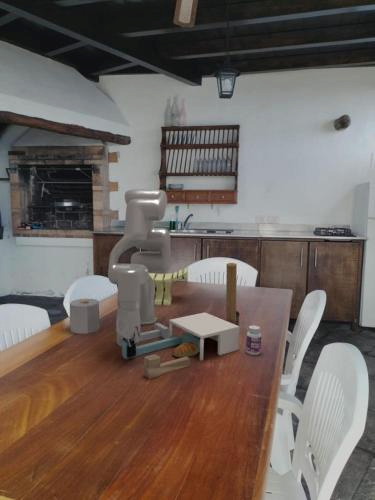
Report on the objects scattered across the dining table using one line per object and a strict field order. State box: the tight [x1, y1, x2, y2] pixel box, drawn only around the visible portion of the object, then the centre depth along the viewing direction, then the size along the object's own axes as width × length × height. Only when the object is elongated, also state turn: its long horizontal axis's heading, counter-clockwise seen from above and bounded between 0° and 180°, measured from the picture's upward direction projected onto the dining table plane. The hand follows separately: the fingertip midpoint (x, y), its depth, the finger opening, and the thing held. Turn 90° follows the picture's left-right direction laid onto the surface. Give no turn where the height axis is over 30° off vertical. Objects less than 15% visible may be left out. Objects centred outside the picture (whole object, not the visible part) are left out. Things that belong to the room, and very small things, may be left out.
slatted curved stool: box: [149, 267, 189, 306], centre depth 205 cm, size 30×16×18 cm, turn 89°
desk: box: [168, 312, 240, 361], centre depth 144 cm, size 20×18×9 cm
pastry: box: [172, 342, 199, 359], centre depth 137 cm, size 9×7×4 cm
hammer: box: [225, 262, 240, 326], centre depth 160 cm, size 20×5×30 cm, turn 164°
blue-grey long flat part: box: [121, 332, 200, 360], centre depth 136 cm, size 12×26×6 cm, turn 127°
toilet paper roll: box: [69, 298, 101, 335], centre depth 160 cm, size 12×12×12 cm
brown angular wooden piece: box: [143, 353, 191, 380], centre depth 123 cm, size 3×16×6 cm, turn 126°
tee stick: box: [116, 322, 170, 348], centre depth 149 cm, size 8×20×6 cm, turn 126°
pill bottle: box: [245, 325, 262, 356], centre depth 139 cm, size 5×5×10 cm
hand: (128, 354), depth 133 cm, fingers closed on blue-grey long flat part, 3 cm apart
